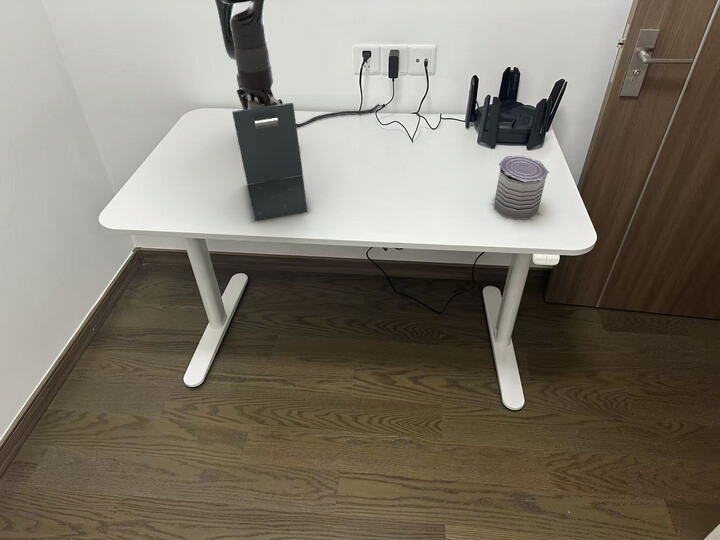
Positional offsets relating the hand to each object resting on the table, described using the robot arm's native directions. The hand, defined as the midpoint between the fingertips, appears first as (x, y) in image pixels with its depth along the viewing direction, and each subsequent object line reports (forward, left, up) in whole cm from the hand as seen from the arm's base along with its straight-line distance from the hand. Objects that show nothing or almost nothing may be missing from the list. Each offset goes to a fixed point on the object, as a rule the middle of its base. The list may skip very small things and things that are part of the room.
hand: (265, 133), depth 129 cm
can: (-34, +53, -19) cm, 66 cm away
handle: (0, 0, -6) cm, 6 cm away
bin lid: (+5, +7, +1) cm, 8 cm away
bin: (+1, +1, -19) cm, 19 cm away
